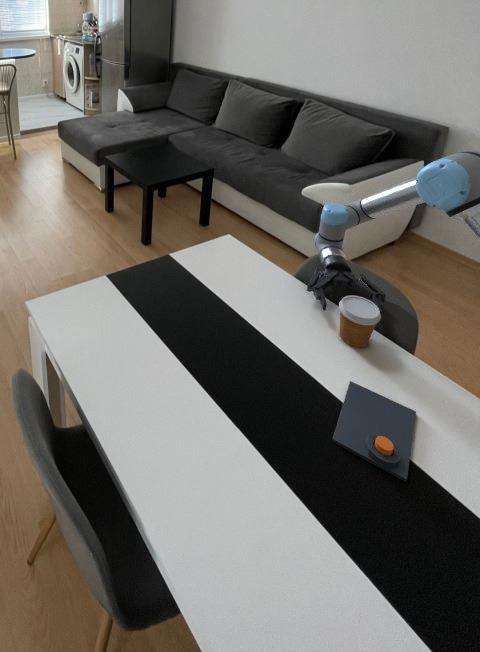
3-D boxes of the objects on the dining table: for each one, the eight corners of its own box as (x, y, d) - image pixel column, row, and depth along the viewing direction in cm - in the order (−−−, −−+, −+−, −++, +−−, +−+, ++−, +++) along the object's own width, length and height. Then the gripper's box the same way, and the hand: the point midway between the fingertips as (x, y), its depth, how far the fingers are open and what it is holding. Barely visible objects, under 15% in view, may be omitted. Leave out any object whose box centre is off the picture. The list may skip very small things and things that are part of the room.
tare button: (375, 438, 90) (377, 432, 90) (393, 447, 88) (394, 441, 88) (373, 449, 88) (374, 444, 88) (390, 459, 86) (392, 453, 86)
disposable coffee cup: (327, 341, 118) (333, 306, 114) (340, 322, 124) (347, 289, 119) (366, 361, 111) (375, 325, 107) (378, 340, 117) (386, 306, 113)
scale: (348, 386, 105) (351, 376, 104) (414, 417, 97) (417, 406, 96) (331, 444, 93) (333, 433, 91) (404, 485, 85) (408, 474, 83)
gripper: (377, 279, 135) (401, 329, 117) (291, 268, 143) (301, 313, 124) (382, 260, 133) (407, 307, 114) (294, 250, 140) (304, 293, 122)
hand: (352, 311), depth 119 cm, fingers open, 13 cm apart
